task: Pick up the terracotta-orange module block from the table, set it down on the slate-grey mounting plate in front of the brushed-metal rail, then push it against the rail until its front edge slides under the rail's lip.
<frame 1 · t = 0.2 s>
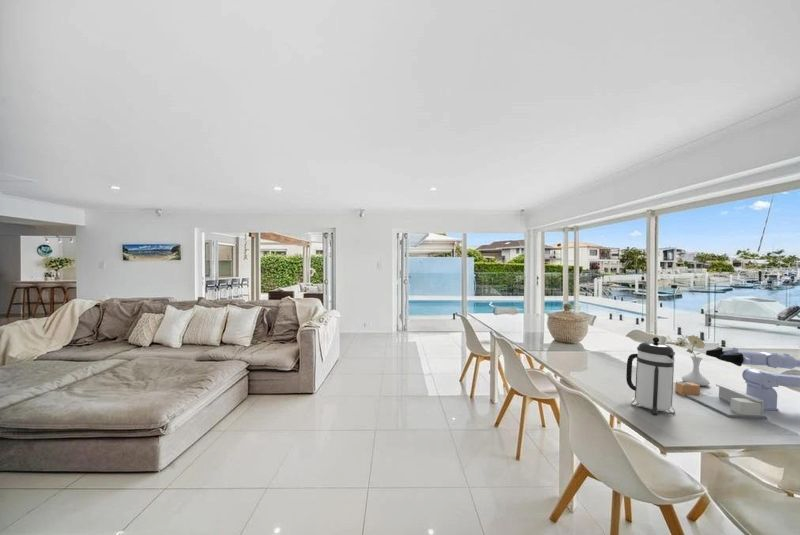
hand: (713, 355, 159), 21 cm above the table, tool horizontal, fingers open, 7 cm apart
flower in vase: (694, 383, 188), on the table
coffee press: (648, 408, 150), on the table
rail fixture: (724, 407, 154), on the table
module: (687, 394, 170), on the table
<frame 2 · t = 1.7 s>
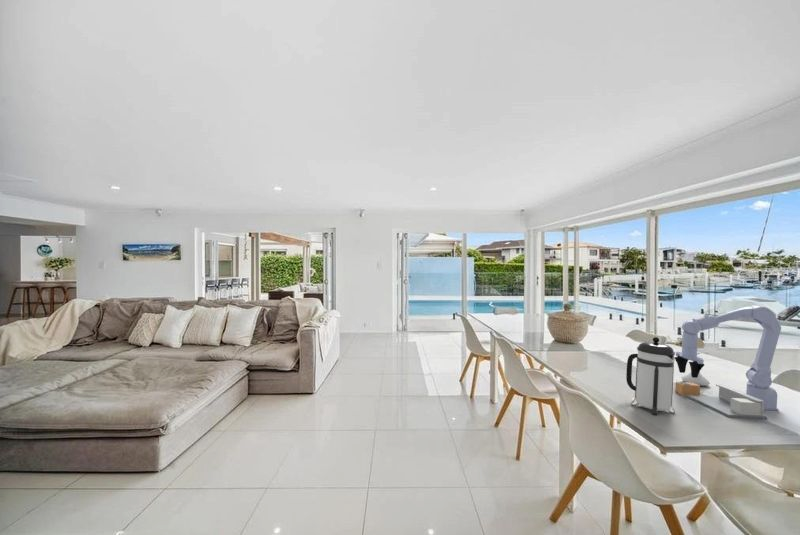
hand: (688, 374, 170), 9 cm above the table, tool pointing down, fingers open, 7 cm apart
nothing on the table moved.
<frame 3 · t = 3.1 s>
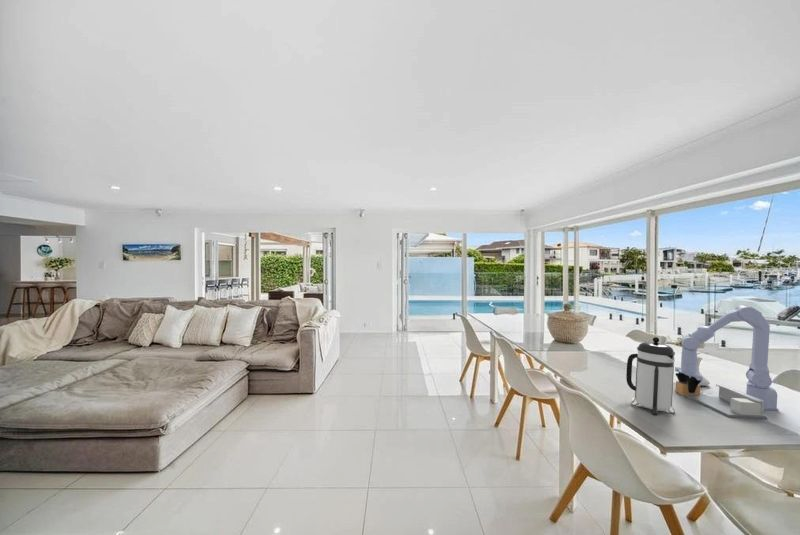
hand: (687, 390, 170), 1 cm above the table, tool pointing down, fingers closed on module, 5 cm apart
module: (687, 393, 170), on the table, touching gripper
everything else where it was.
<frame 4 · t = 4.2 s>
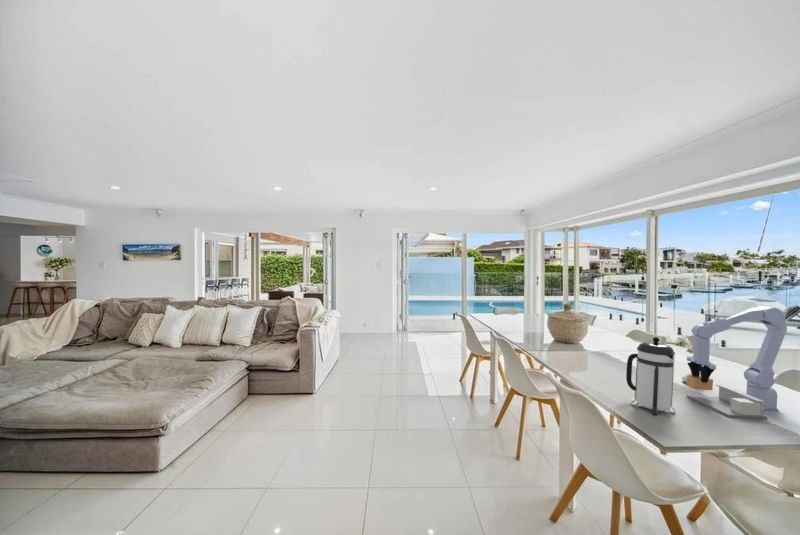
hand: (699, 380, 164), 8 cm above the table, tool pointing down, fingers closed on module, 4 cm apart
module: (699, 388, 164), point 5 cm above the table, touching gripper
everything else where it was.
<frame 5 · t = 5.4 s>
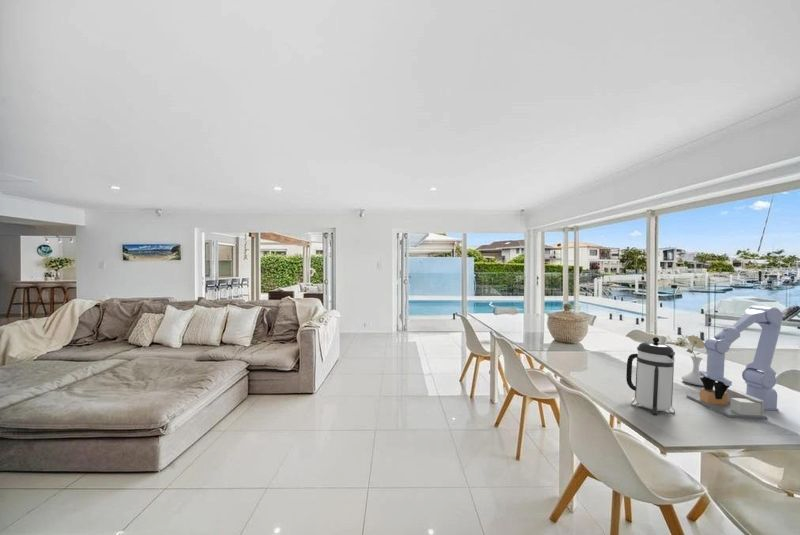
hand: (713, 396, 157), 3 cm above the table, tool pointing down, fingers closed on module, 4 cm apart
module: (713, 402, 157), point 1 cm above the table, touching gripper, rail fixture
everything else where it was.
when the fingers open (3 cm above the table, at t = 5.8 s): module stays where it is, resting on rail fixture.
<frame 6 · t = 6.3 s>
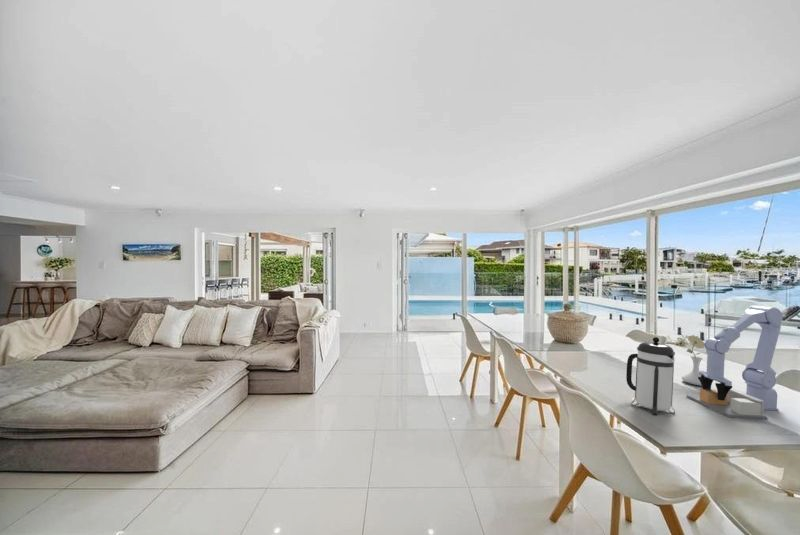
hand: (713, 396, 157), 3 cm above the table, tool pointing down, fingers open, 7 cm apart
module: (713, 402, 157), point 1 cm above the table, touching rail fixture
everything else where it was.
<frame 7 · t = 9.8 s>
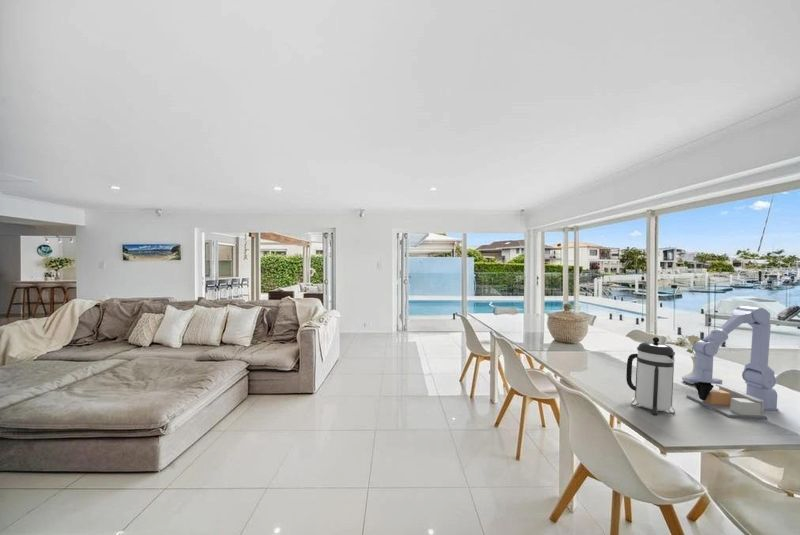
hand: (702, 399, 158), 2 cm above the table, tool pointing down, fingers closed
module: (716, 402, 157), point 1 cm above the table, touching gripper
everything else where it was.
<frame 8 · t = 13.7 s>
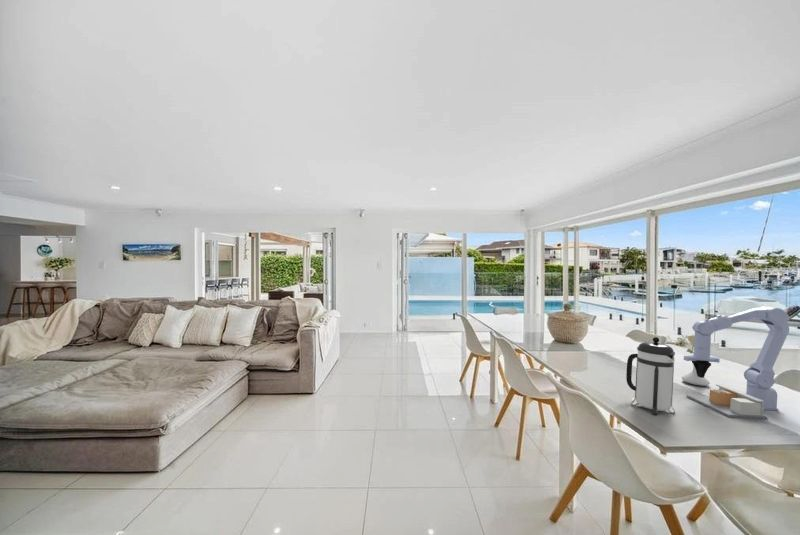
hand: (700, 377, 164), 10 cm above the table, tool pointing down, fingers closed
module: (722, 402, 157), point 1 cm above the table, touching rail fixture
everything else where it was.
at the end: module 0.1 cm from the target spot, point 1.0 cm above the table; module tilted 0°; the gripper is holding nothing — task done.
